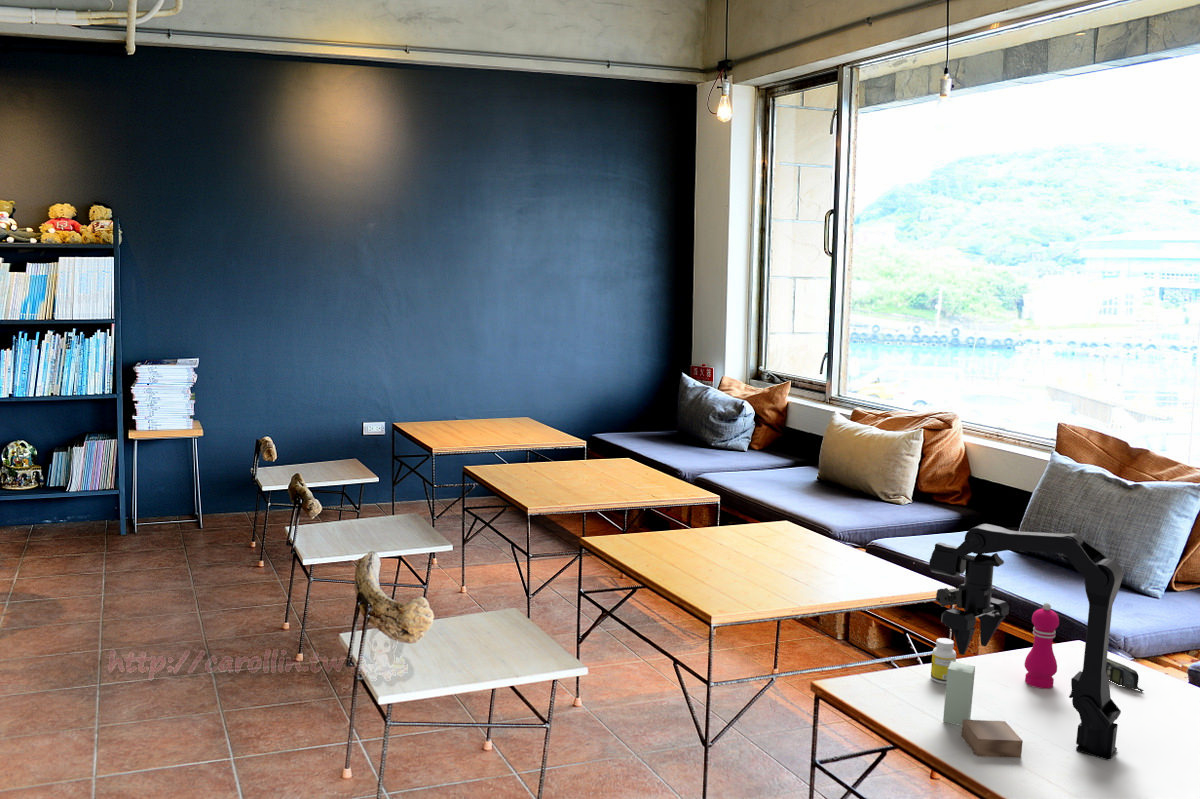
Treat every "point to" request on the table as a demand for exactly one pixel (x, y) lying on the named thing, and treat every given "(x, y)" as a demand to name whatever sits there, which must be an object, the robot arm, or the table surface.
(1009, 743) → the walnut block
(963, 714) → the tall block
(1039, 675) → the pepper mill
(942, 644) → the supplement bottle
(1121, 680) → the mobile phone
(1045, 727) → the table surface
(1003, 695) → the table surface
